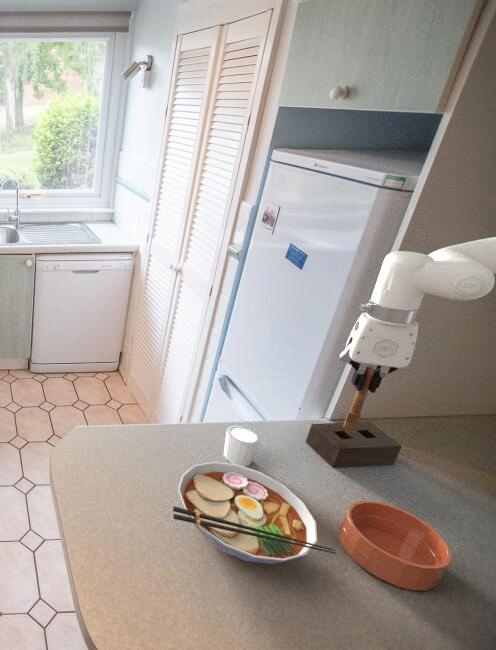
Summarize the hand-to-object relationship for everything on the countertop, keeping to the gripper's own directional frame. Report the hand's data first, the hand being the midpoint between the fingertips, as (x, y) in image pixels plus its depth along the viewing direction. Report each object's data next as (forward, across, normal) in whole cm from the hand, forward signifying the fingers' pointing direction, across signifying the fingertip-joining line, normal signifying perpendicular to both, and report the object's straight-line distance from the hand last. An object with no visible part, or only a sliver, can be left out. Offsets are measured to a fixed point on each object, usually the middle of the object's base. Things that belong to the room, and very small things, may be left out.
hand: (363, 387), depth 100 cm
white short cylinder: (+18, -23, -10) cm, 31 cm away
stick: (+11, 0, 0) cm, 11 cm away
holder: (+19, +2, +1) cm, 19 cm away
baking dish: (+19, -1, -29) cm, 34 cm away
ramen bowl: (+18, -26, -33) cm, 46 cm away
